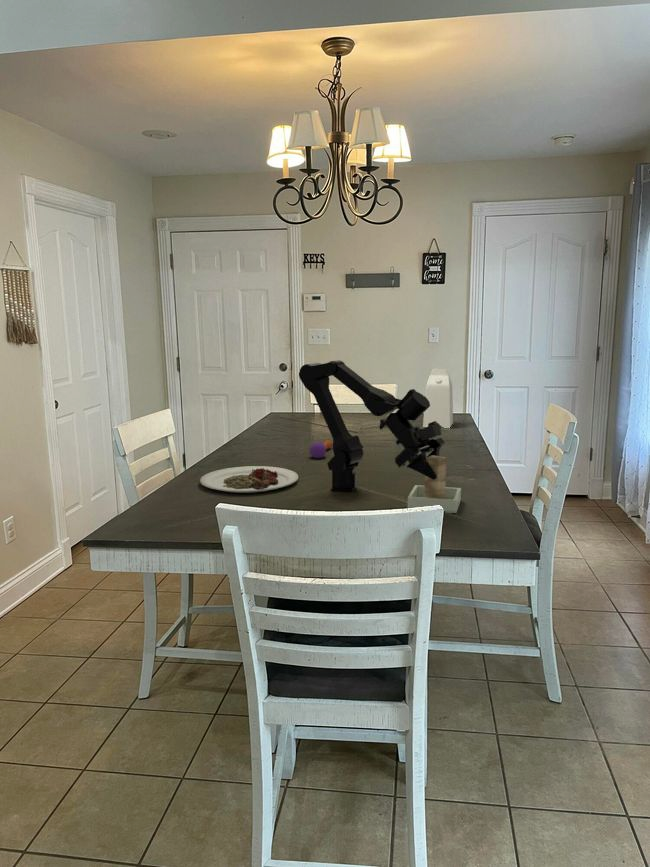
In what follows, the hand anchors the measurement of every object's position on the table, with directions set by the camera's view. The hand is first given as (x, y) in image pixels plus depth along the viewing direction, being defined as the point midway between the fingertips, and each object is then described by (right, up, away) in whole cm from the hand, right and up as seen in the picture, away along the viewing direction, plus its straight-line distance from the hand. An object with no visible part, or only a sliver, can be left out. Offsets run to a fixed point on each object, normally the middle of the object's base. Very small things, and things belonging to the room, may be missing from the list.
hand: (439, 476), depth 173 cm
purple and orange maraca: (-31, +4, +68) cm, 75 cm away
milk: (+21, +14, +123) cm, 126 cm away
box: (-1, -8, +2) cm, 8 cm away
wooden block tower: (-1, -7, +2) cm, 8 cm away
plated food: (-54, -4, +28) cm, 61 cm away
